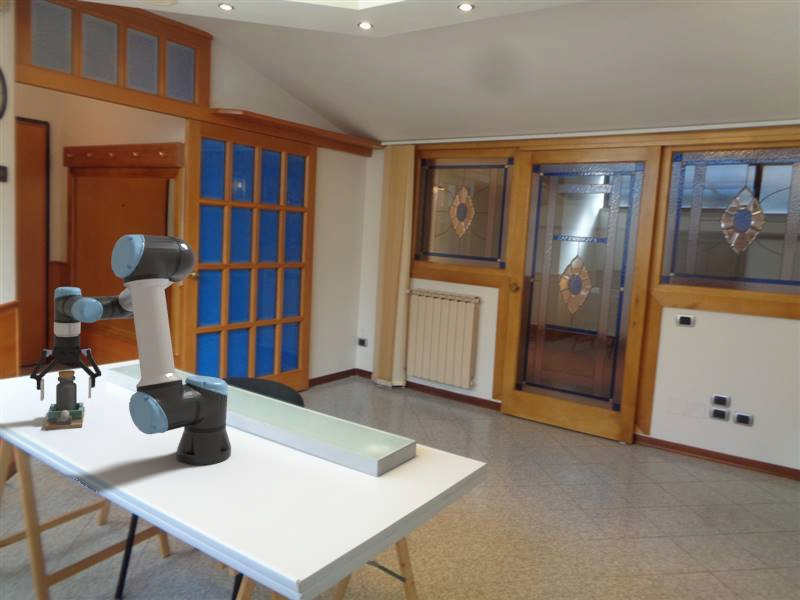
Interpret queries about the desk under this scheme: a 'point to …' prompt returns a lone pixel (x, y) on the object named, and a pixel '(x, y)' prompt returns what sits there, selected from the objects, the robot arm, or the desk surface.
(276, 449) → the desk surface
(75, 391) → the bottle
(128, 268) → the robot arm
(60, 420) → the block
